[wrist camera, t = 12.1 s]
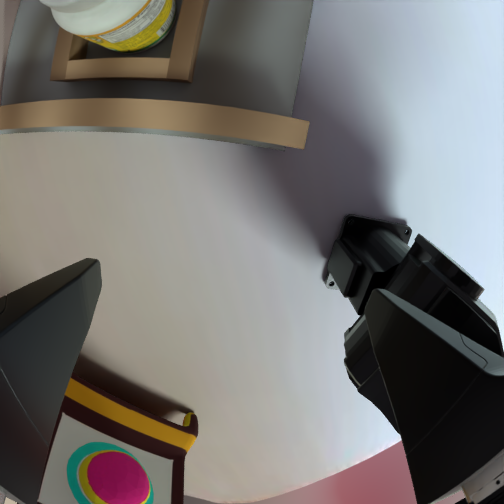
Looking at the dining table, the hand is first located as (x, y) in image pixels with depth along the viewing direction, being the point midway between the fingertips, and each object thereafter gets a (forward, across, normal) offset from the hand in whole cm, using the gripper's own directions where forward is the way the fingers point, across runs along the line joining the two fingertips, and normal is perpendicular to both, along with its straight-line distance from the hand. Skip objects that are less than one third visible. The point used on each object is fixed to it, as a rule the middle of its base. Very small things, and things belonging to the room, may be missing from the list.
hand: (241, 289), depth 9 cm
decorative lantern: (+13, +12, +30) cm, 35 cm away
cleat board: (+13, +8, -10) cm, 18 cm away
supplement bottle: (+12, +8, -11) cm, 18 cm away
